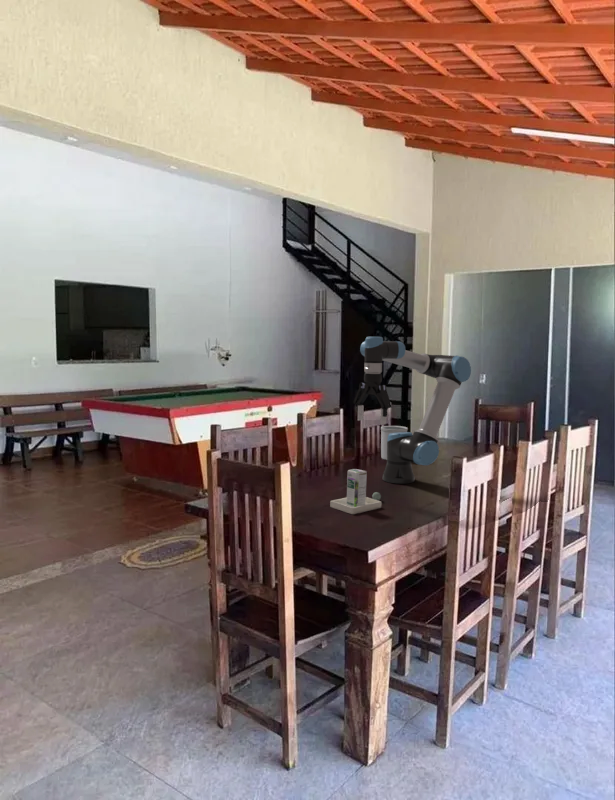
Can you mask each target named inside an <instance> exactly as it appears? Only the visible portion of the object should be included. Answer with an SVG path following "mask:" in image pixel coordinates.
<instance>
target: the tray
mask: <svg viewBox="0 0 615 800" xmlns="http://www.w3.org/2000/svg"><path fill="white" fill-rule="evenodd" d="M329 503H330V504H329V505H330V506H329V507H330V508H331V509H335V510H338V511H340V512H344V513H347V514H349V515H357V514H361V513H364V512H368V511H374V510H377V509H381V508H382V501H380V500H374V499H373V498H371V497H368V496H366V504H365V505H361V506H357V507H351V506H347V505H346V503H347V496H345V497H342V498H338V499H333V500H330V502H329Z"/></svg>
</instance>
